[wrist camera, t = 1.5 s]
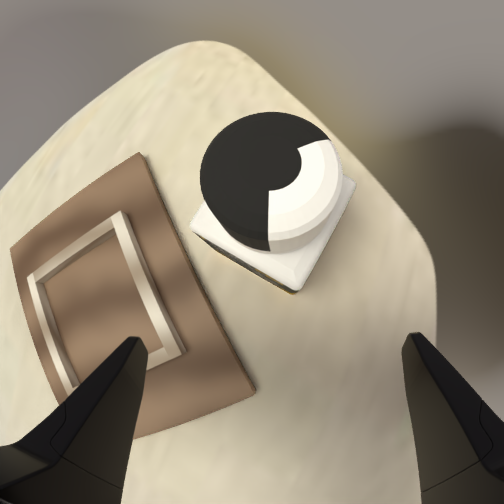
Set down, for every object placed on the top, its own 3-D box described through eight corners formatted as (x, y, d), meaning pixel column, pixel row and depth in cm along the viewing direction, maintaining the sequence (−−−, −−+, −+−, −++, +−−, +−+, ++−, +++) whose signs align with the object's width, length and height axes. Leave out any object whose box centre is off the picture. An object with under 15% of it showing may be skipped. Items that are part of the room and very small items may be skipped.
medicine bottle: (213, 249, 24) (149, 197, 12) (260, 174, 24) (240, 74, 13) (293, 296, 22) (306, 287, 11) (338, 216, 23) (384, 137, 11)
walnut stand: (255, 390, 21) (252, 399, 19) (90, 447, 22) (77, 456, 19) (144, 157, 26) (133, 145, 23) (17, 250, 26) (2, 246, 24)
